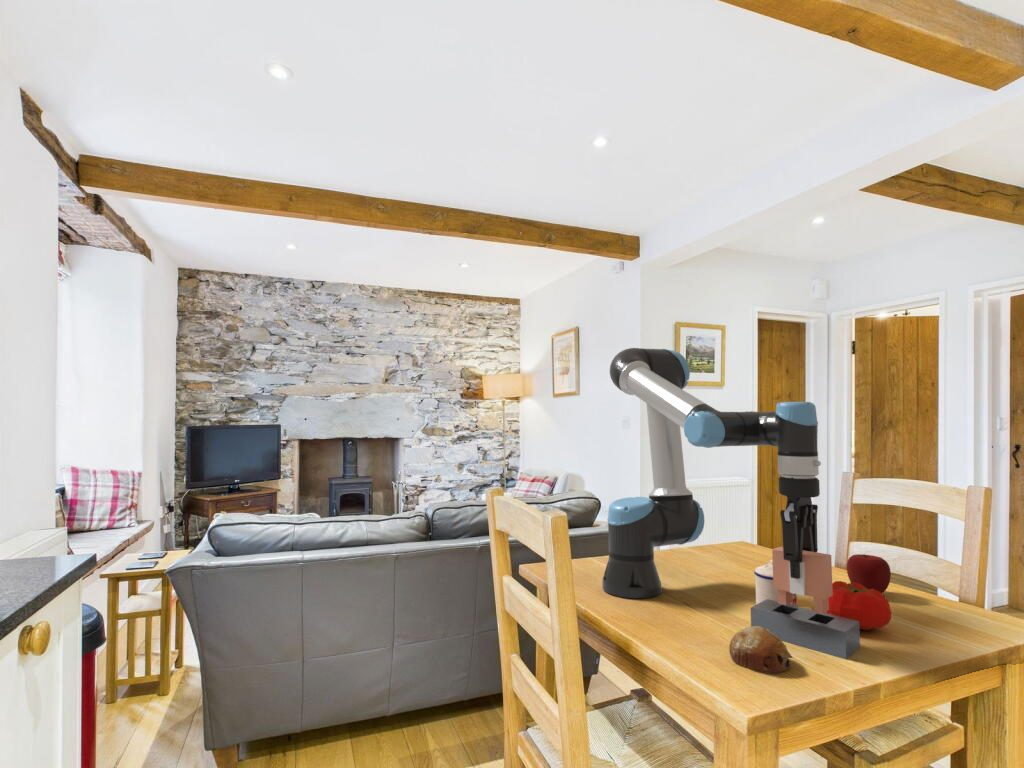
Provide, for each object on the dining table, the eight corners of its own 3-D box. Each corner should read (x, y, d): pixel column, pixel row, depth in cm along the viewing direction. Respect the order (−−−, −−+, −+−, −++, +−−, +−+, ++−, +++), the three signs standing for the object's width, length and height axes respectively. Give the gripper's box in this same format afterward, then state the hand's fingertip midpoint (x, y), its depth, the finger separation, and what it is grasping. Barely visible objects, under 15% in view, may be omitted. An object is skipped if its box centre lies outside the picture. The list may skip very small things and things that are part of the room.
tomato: (887, 644, 111) (885, 599, 111) (817, 629, 119) (815, 587, 119) (896, 624, 121) (895, 583, 122) (831, 611, 129) (829, 573, 130)
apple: (867, 586, 148) (866, 548, 148) (901, 598, 138) (899, 557, 139) (838, 590, 145) (837, 551, 146) (871, 601, 136) (869, 560, 137)
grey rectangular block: (751, 631, 118) (750, 607, 118) (767, 622, 123) (766, 599, 123) (846, 659, 104) (845, 631, 104) (860, 647, 110) (859, 621, 110)
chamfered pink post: (773, 602, 116) (772, 549, 117) (781, 598, 119) (780, 546, 120) (826, 615, 109) (823, 558, 109) (833, 610, 111) (831, 554, 112)
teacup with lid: (792, 620, 124) (790, 567, 124) (749, 611, 129) (748, 560, 130) (805, 606, 133) (803, 556, 134) (765, 598, 139) (763, 551, 139)
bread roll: (764, 669, 108) (748, 625, 112) (808, 665, 100) (789, 617, 104) (728, 681, 104) (713, 635, 107) (772, 677, 96) (753, 627, 99)
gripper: (801, 481, 107) (805, 605, 106) (832, 474, 118) (837, 586, 117) (762, 478, 112) (765, 596, 111) (795, 472, 124) (799, 579, 123)
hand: (802, 591), depth 114 cm, fingers closed on chamfered pink post, 4 cm apart
